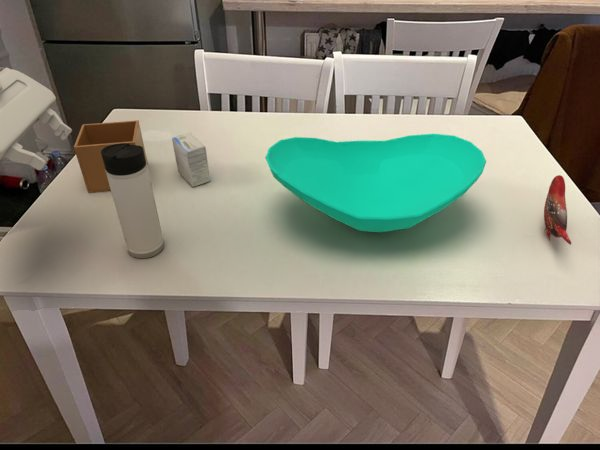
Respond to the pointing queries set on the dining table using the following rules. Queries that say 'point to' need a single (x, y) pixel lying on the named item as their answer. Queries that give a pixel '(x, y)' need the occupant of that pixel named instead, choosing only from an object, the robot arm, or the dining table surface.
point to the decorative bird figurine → (556, 210)
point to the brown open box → (95, 140)
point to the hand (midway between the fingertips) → (57, 149)
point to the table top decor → (377, 177)
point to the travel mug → (133, 198)
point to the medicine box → (191, 159)
